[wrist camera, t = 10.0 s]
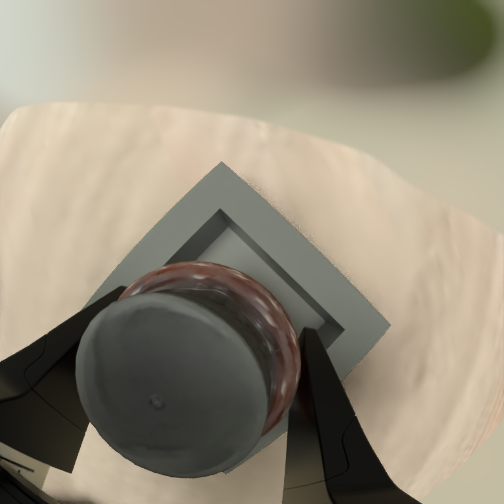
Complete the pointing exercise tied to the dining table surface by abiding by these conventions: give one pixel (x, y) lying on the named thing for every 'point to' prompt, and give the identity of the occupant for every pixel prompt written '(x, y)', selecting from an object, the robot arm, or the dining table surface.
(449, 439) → the dining table surface
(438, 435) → the dining table surface
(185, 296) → the supplement bottle
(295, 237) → the socket housing
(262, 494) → the dining table surface
